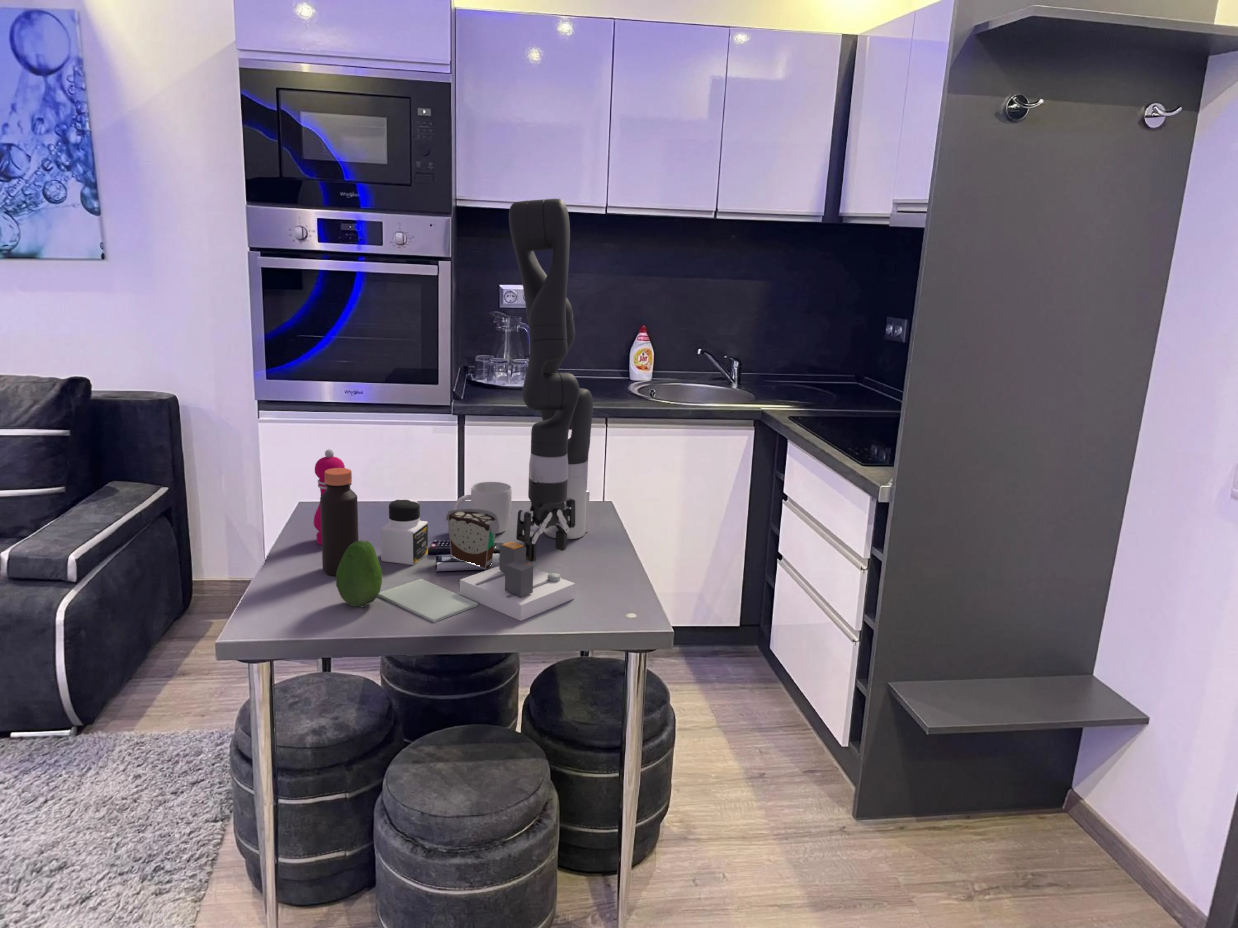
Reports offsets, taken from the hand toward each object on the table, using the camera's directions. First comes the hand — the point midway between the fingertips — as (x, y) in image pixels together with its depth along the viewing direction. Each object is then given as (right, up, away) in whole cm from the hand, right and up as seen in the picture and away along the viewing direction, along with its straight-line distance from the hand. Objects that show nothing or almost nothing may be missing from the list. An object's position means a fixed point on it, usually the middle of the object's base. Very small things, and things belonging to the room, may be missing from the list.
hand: (545, 555), depth 176 cm
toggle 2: (-4, -5, -16) cm, 17 cm away
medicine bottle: (-29, -1, +6) cm, 30 cm away
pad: (-20, -7, -14) cm, 26 cm away
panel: (-5, -7, -10) cm, 13 cm away
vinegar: (-40, -3, -2) cm, 40 cm away
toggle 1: (-6, -2, -6) cm, 9 cm away
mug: (-16, +3, +25) cm, 30 cm away
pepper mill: (-46, +1, +13) cm, 48 cm away
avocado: (-32, -7, -17) cm, 37 cm away
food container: (-14, -2, +7) cm, 16 cm away
